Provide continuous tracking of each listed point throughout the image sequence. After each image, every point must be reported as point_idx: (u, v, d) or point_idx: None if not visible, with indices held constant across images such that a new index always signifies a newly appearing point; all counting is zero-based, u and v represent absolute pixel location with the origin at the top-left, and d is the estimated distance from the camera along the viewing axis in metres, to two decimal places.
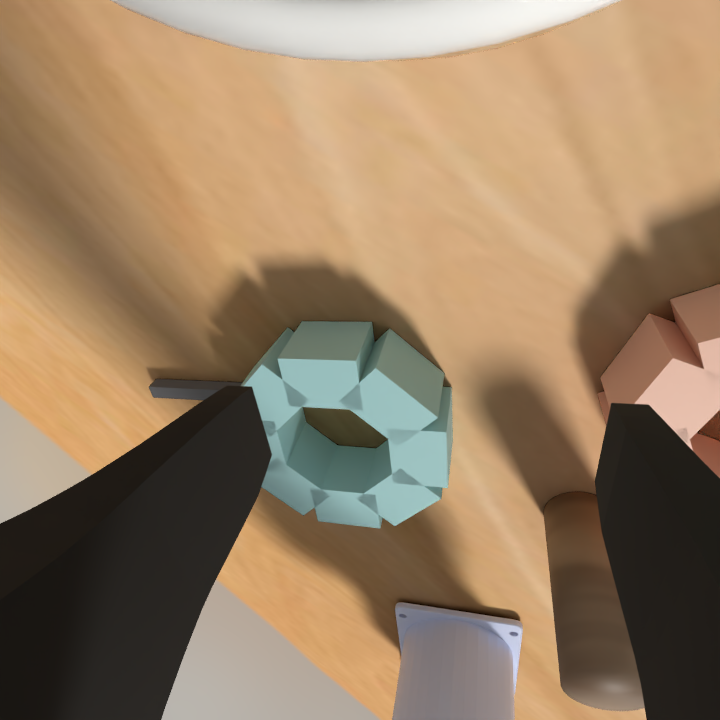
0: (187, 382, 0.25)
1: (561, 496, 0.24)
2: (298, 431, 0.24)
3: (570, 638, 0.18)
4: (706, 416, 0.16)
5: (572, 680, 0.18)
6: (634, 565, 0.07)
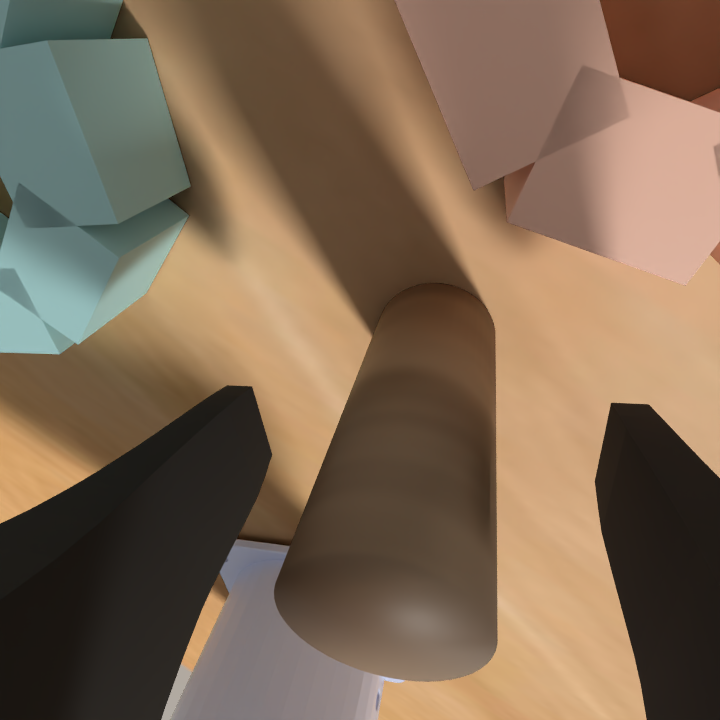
0: None
1: (398, 295, 0.13)
2: None
3: (310, 503, 0.08)
4: None
5: (296, 601, 0.07)
6: (634, 565, 0.07)
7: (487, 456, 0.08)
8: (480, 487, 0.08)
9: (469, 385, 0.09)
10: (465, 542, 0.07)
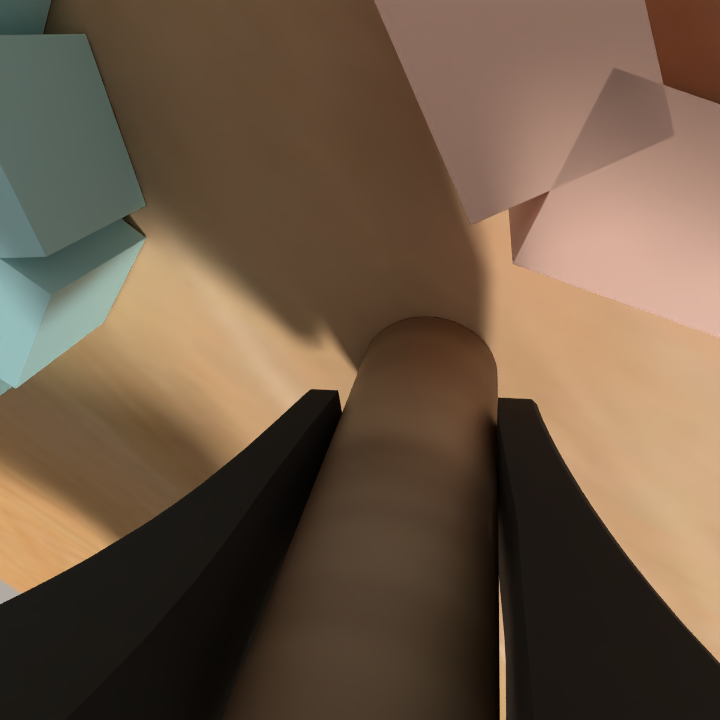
0: None
1: (385, 330, 0.11)
2: None
3: (261, 629, 0.06)
4: None
5: None
6: (503, 550, 0.08)
7: (488, 554, 0.07)
8: (479, 607, 0.06)
9: (466, 456, 0.08)
10: (458, 706, 0.05)
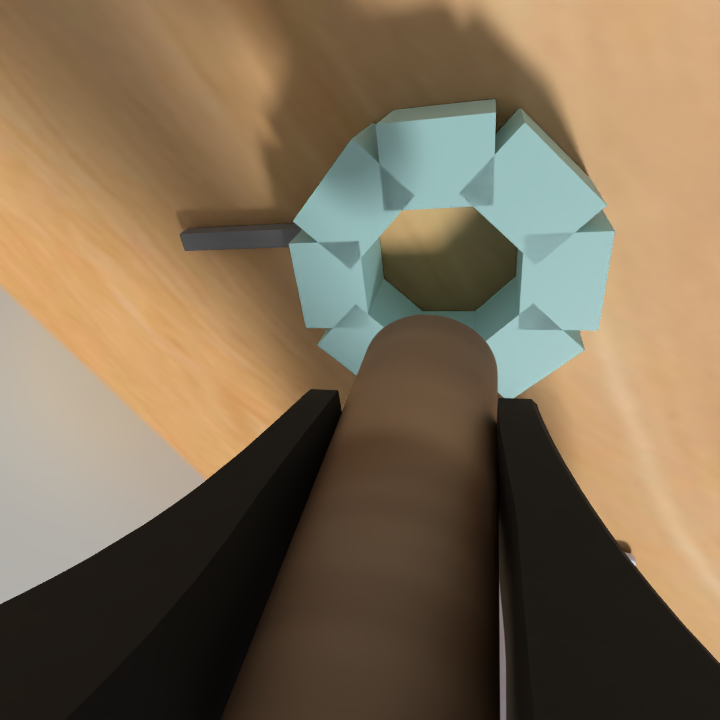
0: (229, 227, 0.19)
1: (384, 329, 0.11)
2: (378, 282, 0.18)
3: (261, 624, 0.06)
4: None
5: None
6: (503, 550, 0.08)
7: (486, 547, 0.07)
8: (476, 598, 0.06)
9: (463, 450, 0.08)
10: (454, 695, 0.05)
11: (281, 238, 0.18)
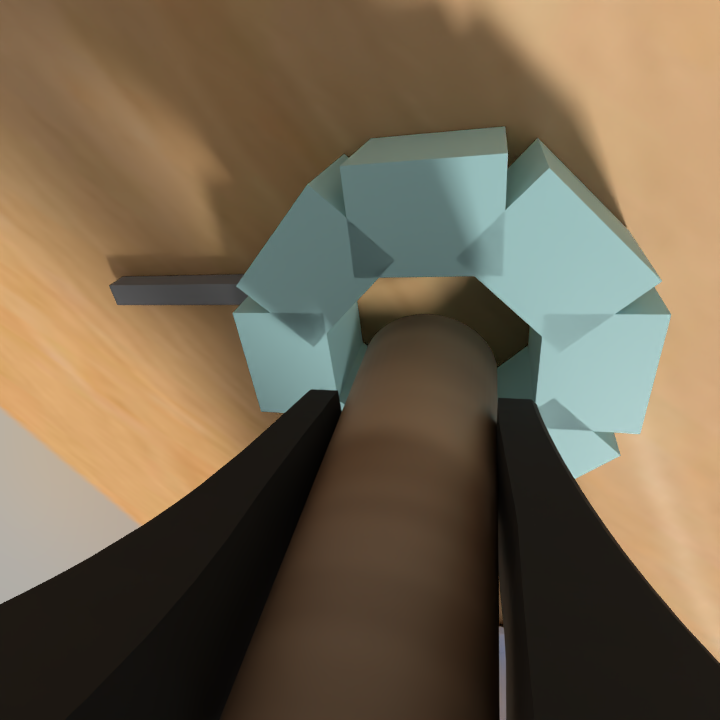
0: (171, 277, 0.16)
1: (383, 329, 0.11)
2: (353, 351, 0.14)
3: (260, 624, 0.06)
4: None
5: None
6: (502, 550, 0.08)
7: (486, 546, 0.07)
8: (475, 598, 0.06)
9: (463, 449, 0.08)
10: (453, 696, 0.05)
11: (232, 294, 0.15)
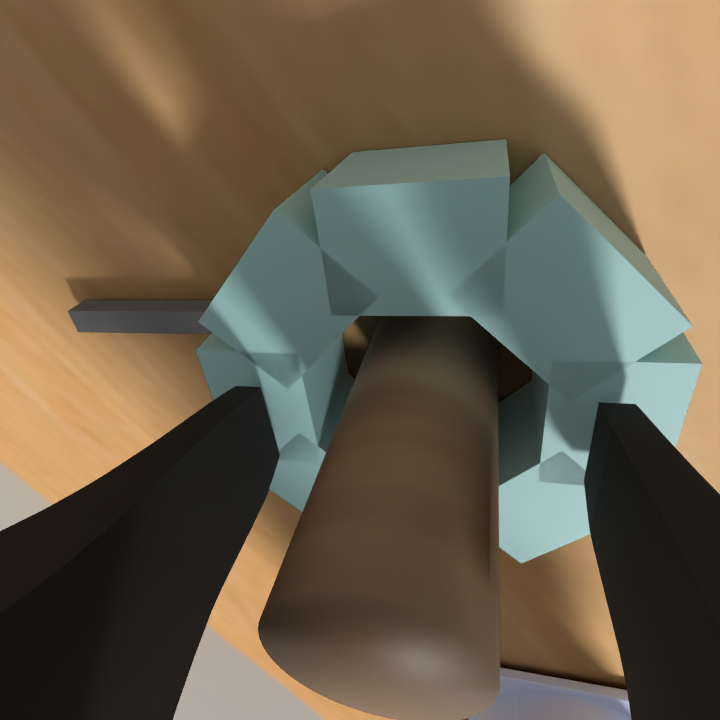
0: (136, 302, 0.14)
1: None
2: (337, 386, 0.13)
3: (296, 533, 0.07)
4: None
5: (283, 641, 0.07)
6: (620, 564, 0.07)
7: (488, 474, 0.08)
8: (480, 511, 0.07)
9: (467, 398, 0.09)
10: (462, 576, 0.06)
11: None
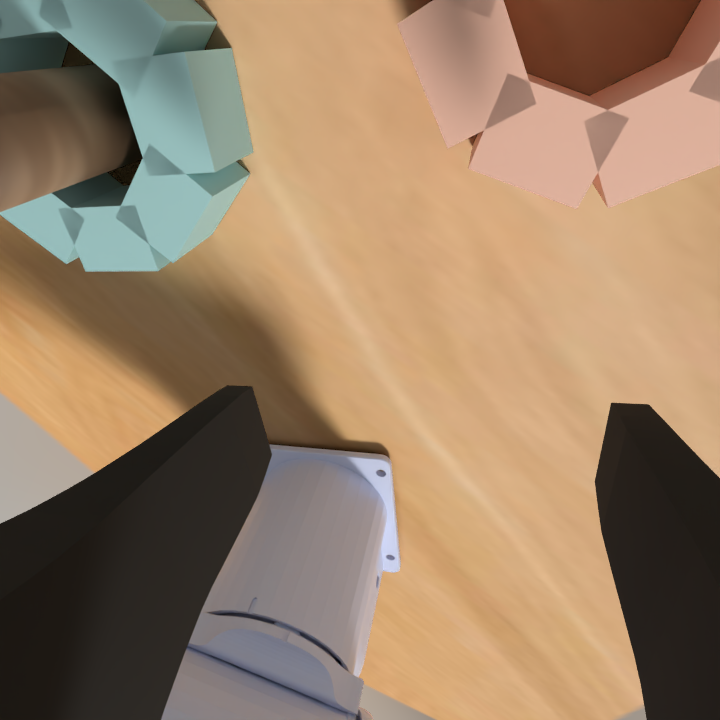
0: None
1: None
2: None
3: None
4: None
5: None
6: (634, 566, 0.07)
7: (36, 106, 0.13)
8: (2, 103, 0.12)
9: (53, 82, 0.14)
10: None
11: None
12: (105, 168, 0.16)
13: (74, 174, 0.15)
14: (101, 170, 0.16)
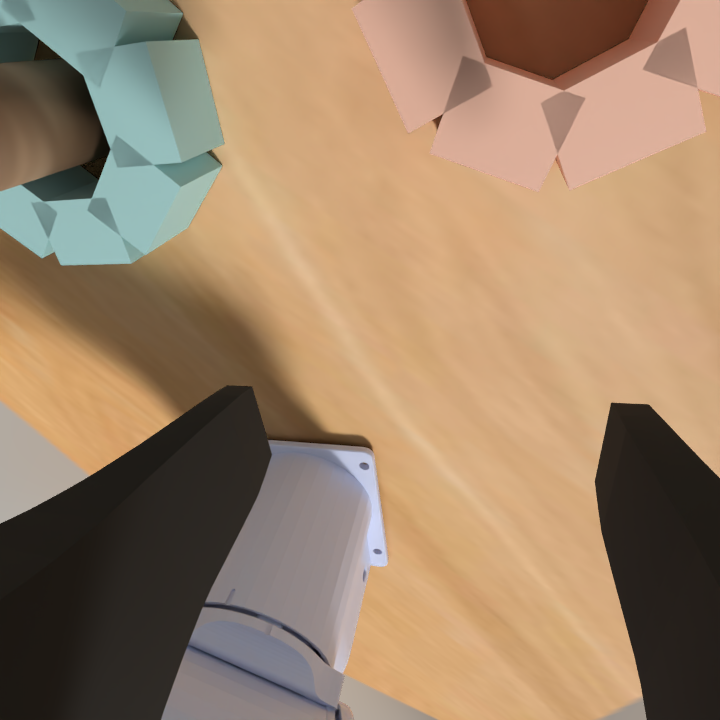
0: None
1: None
2: None
3: None
4: None
5: None
6: (635, 565, 0.07)
7: None
8: None
9: (18, 74, 0.14)
10: None
11: None
12: (75, 161, 0.16)
13: (41, 166, 0.15)
14: (71, 163, 0.16)
